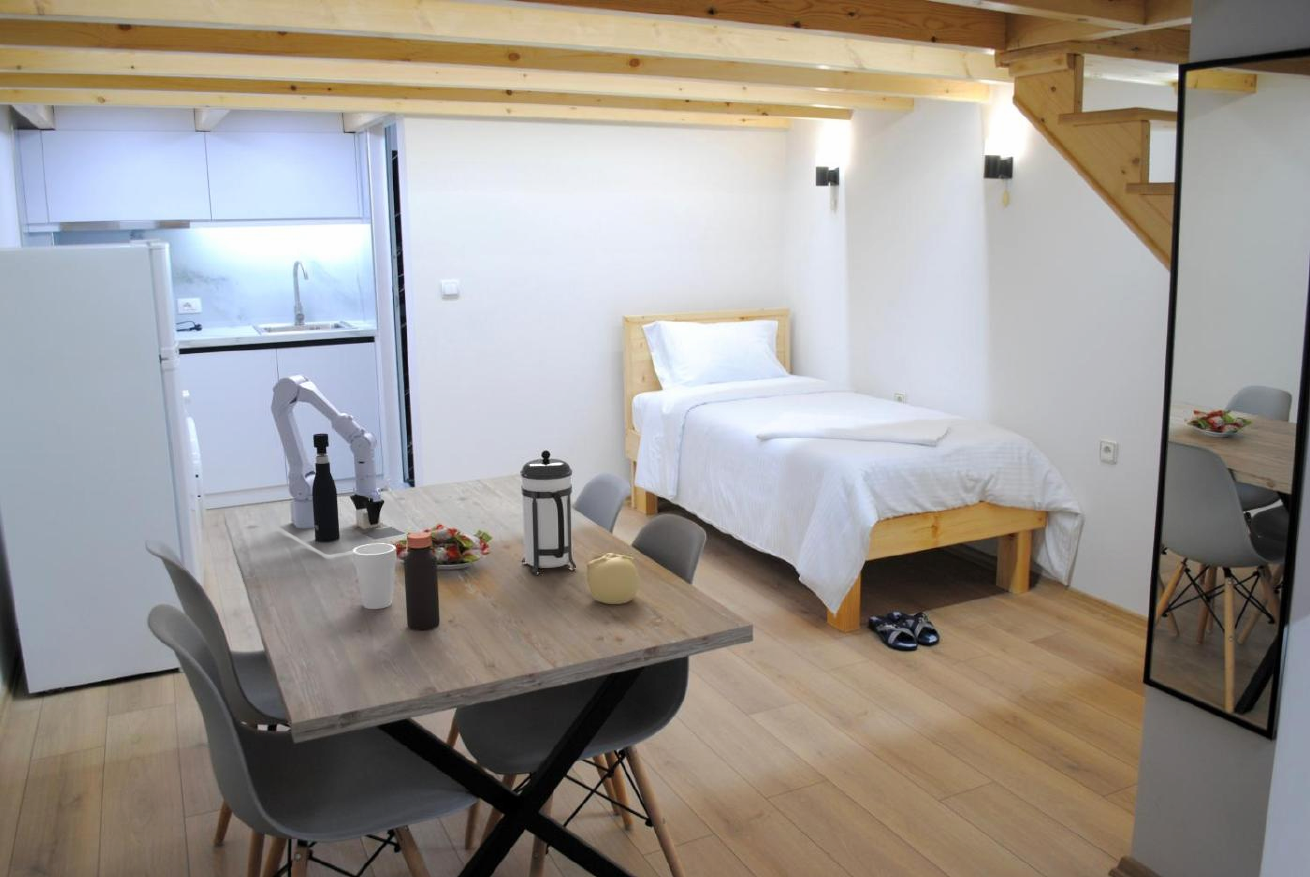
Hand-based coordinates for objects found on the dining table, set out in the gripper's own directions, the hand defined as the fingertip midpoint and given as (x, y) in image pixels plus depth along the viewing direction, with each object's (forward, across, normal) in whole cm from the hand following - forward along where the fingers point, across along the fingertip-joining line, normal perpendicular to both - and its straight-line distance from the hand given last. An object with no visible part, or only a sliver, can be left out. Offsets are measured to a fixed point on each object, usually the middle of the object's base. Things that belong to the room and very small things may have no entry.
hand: (368, 521), depth 303 cm
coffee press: (+3, -65, -20) cm, 68 cm away
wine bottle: (+2, -6, +14) cm, 16 cm away
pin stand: (+2, 0, 0) cm, 2 cm away
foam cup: (+2, -62, +25) cm, 67 cm away
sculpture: (+3, -94, -18) cm, 96 cm away
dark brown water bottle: (+2, -81, +23) cm, 84 cm away
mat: (+2, -10, 0) cm, 10 cm away
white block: (+1, 0, 0) cm, 1 cm away
